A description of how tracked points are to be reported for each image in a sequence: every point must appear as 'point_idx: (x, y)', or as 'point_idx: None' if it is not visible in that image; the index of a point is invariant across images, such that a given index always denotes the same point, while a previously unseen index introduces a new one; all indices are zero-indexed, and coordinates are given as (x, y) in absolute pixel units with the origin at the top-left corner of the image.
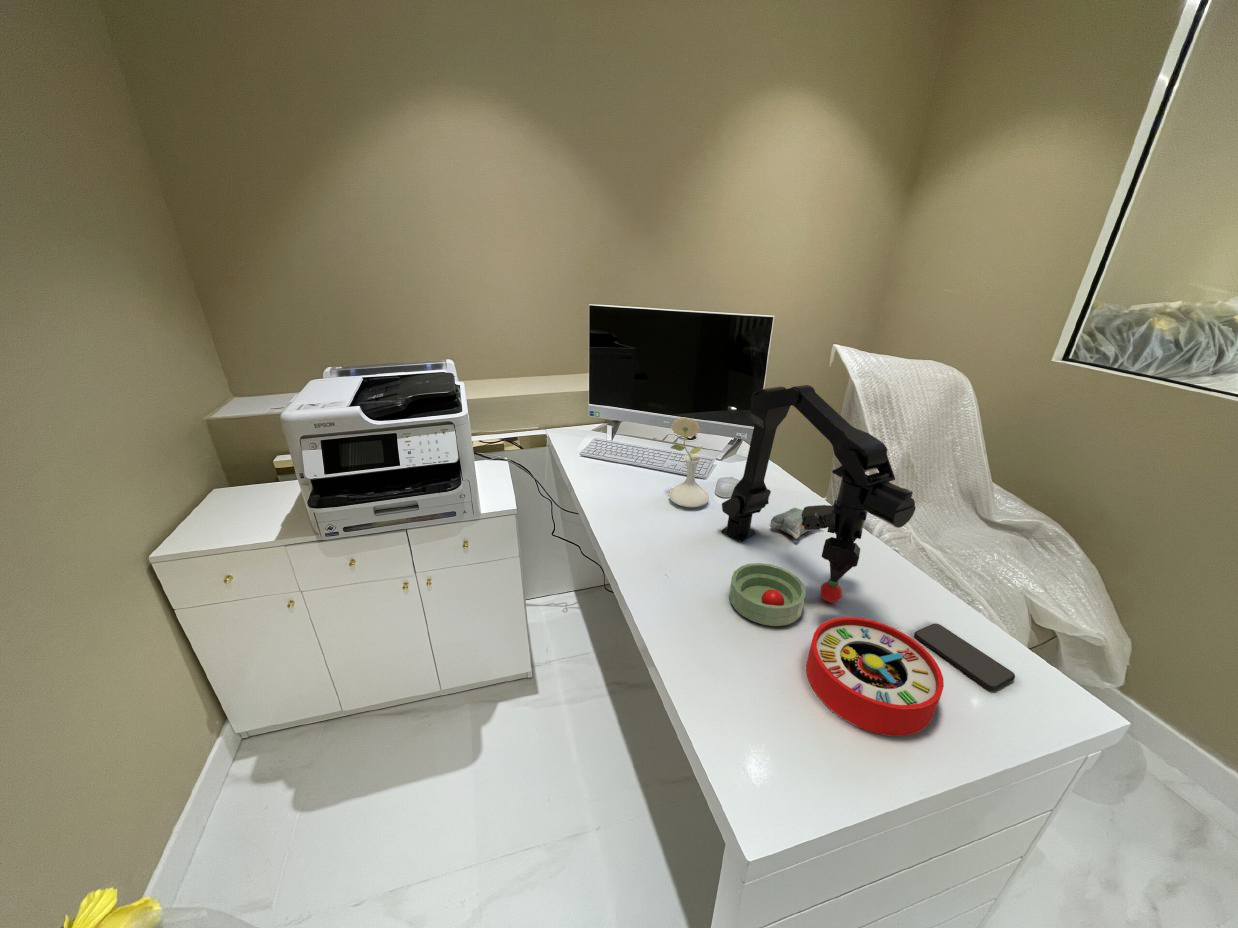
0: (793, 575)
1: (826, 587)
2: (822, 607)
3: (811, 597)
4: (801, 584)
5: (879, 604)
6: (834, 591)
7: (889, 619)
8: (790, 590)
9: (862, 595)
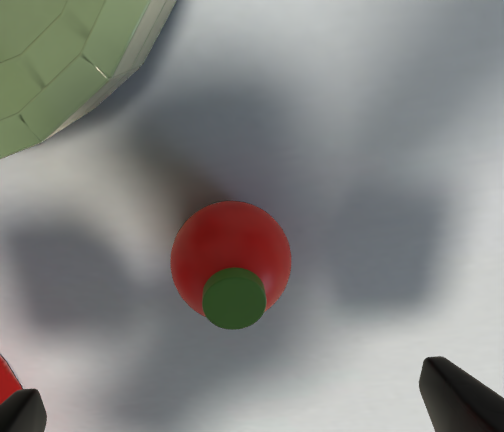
0: (113, 26)
1: (193, 258)
2: (149, 216)
3: (200, 153)
4: (26, 123)
5: (307, 389)
6: (187, 298)
7: (231, 421)
8: (41, 36)
9: (339, 337)
